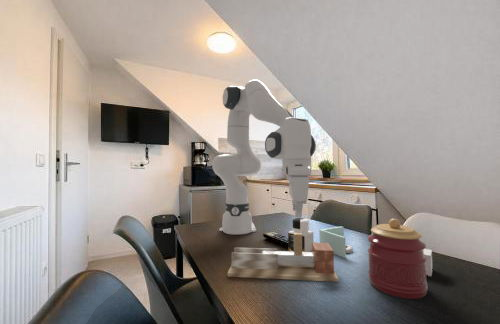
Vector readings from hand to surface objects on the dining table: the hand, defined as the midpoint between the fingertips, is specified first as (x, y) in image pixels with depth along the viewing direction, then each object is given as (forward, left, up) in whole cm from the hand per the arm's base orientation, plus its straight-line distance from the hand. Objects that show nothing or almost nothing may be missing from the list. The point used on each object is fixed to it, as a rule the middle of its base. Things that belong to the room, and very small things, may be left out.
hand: (296, 213), depth 70 cm
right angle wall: (-20, +19, -18) cm, 33 cm away
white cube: (-4, +37, -18) cm, 41 cm away
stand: (0, -5, -17) cm, 18 cm away
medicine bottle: (-18, +3, -18) cm, 25 cm away
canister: (+7, +25, -18) cm, 31 cm away
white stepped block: (0, -2, -15) cm, 15 cm away
